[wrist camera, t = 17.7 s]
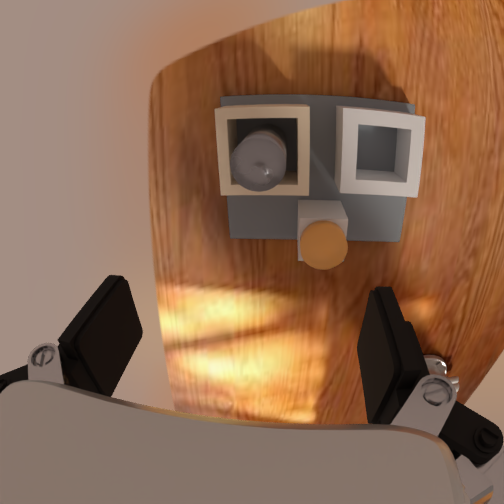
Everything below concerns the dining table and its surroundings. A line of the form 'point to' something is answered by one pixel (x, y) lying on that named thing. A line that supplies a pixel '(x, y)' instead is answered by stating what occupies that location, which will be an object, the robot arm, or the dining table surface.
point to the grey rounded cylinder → (260, 158)
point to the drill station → (324, 165)
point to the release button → (323, 245)
